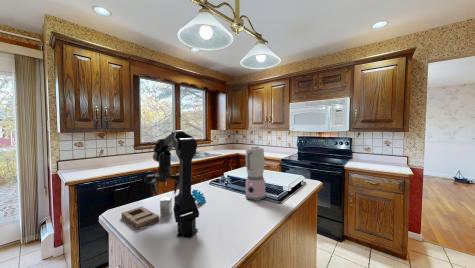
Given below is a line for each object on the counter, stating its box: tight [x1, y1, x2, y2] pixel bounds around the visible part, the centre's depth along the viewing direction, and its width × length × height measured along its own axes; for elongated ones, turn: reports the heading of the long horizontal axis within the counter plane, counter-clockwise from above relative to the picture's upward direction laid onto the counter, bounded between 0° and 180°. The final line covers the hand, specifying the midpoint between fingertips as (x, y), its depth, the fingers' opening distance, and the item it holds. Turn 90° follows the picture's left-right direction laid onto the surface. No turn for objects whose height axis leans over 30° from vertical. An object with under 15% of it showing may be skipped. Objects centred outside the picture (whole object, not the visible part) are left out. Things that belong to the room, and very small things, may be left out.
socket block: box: [121, 206, 160, 230], centre depth 93 cm, size 18×10×2 cm, turn 50°
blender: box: [245, 145, 266, 202], centre depth 117 cm, size 16×12×32 cm
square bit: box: [159, 196, 173, 217], centre depth 98 cm, size 4×4×8 cm
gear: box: [191, 189, 207, 205], centre depth 113 cm, size 11×6×10 cm
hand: (165, 194), depth 98 cm, fingers open, 9 cm apart
